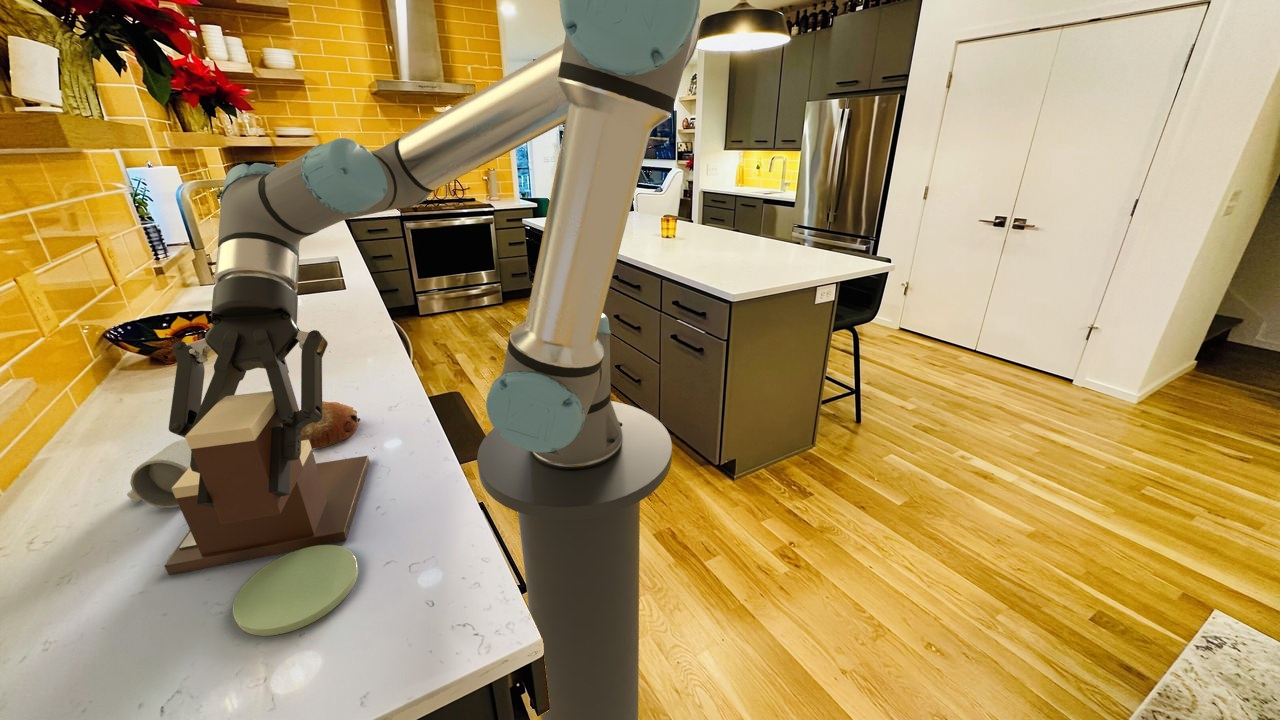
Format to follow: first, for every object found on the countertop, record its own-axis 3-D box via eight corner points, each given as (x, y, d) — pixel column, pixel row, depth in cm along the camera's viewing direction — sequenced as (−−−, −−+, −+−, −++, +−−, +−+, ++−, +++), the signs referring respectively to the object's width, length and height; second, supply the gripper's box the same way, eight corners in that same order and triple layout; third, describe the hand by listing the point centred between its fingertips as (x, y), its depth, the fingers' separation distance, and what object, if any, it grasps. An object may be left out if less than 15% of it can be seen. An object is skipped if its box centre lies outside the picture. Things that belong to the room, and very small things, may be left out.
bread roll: (316, 440, 93) (284, 409, 89) (367, 410, 95) (337, 379, 90) (307, 469, 85) (271, 437, 81) (363, 436, 86) (330, 403, 82)
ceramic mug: (233, 470, 78) (216, 428, 75) (204, 504, 71) (183, 459, 68) (154, 480, 76) (133, 437, 73) (116, 516, 69) (90, 470, 66)
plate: (366, 541, 65) (364, 535, 64) (347, 618, 54) (345, 612, 54) (258, 563, 61) (256, 556, 61) (215, 649, 51) (212, 642, 50)
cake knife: (228, 480, 74) (226, 473, 73) (244, 477, 74) (242, 471, 74) (179, 549, 61) (176, 542, 61) (199, 546, 62) (195, 538, 61)
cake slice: (303, 468, 57) (279, 389, 53) (280, 514, 50) (250, 427, 46) (252, 476, 55) (222, 396, 51) (220, 524, 48) (184, 436, 44)
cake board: (370, 463, 80) (368, 455, 80) (346, 540, 65) (344, 531, 64) (230, 484, 75) (227, 476, 75) (168, 575, 59) (163, 565, 59)
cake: (327, 500, 70) (309, 439, 66) (314, 534, 64) (292, 469, 60) (225, 518, 66) (200, 454, 62) (201, 556, 60) (171, 488, 56)
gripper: (356, 300, 62) (359, 488, 54) (180, 312, 57) (156, 521, 49) (336, 267, 55) (337, 476, 47) (135, 277, 50) (98, 513, 42)
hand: (245, 498), depth 48 cm, fingers closed on cake slice, 5 cm apart
